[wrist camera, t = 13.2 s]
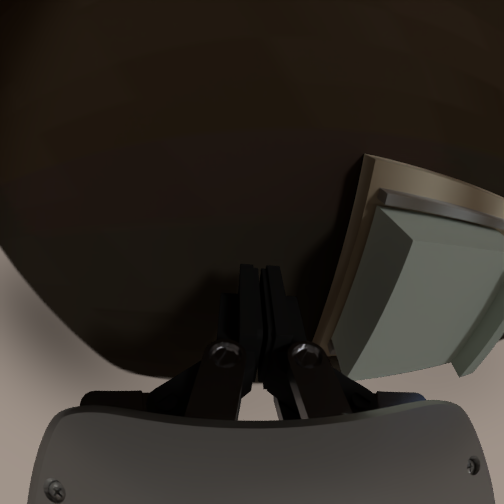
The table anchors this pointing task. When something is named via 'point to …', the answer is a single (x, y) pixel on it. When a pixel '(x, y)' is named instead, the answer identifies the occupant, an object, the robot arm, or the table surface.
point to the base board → (406, 198)
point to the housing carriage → (422, 297)
